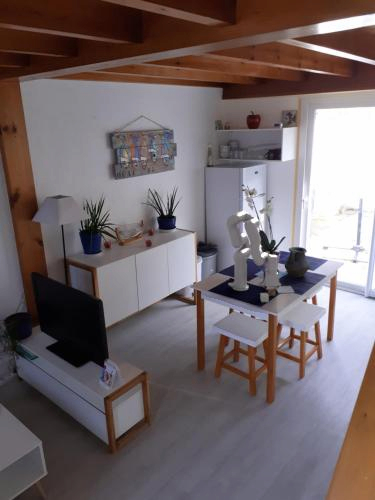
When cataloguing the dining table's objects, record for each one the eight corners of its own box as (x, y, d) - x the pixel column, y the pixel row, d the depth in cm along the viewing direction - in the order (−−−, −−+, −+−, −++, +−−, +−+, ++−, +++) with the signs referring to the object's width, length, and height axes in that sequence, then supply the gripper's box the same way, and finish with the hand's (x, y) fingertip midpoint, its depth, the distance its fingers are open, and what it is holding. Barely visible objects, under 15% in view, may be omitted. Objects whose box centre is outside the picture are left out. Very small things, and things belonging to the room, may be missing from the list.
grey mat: (278, 293, 309) (278, 292, 309) (275, 287, 320) (275, 286, 320) (294, 292, 309) (294, 292, 309) (290, 286, 321) (290, 285, 320)
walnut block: (268, 295, 306) (268, 289, 304) (267, 293, 310) (267, 287, 309) (275, 295, 306) (275, 289, 304) (273, 292, 311) (273, 286, 309)
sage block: (261, 302, 296) (261, 296, 295) (260, 299, 301) (260, 293, 299) (268, 302, 296) (268, 295, 295) (267, 299, 301) (267, 292, 299)
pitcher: (313, 274, 342) (315, 246, 334) (303, 283, 326) (304, 253, 318) (289, 269, 354) (291, 242, 346) (279, 277, 337) (280, 249, 329)
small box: (266, 284, 327) (267, 271, 323) (263, 281, 333) (263, 268, 329) (278, 282, 329) (279, 270, 326) (274, 279, 335) (275, 267, 332)
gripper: (261, 273, 298) (260, 296, 304) (284, 272, 299) (283, 295, 304) (259, 269, 306) (258, 292, 311) (282, 268, 306) (281, 291, 312)
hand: (271, 293), depth 308 cm, fingers closed on walnut block, 5 cm apart
